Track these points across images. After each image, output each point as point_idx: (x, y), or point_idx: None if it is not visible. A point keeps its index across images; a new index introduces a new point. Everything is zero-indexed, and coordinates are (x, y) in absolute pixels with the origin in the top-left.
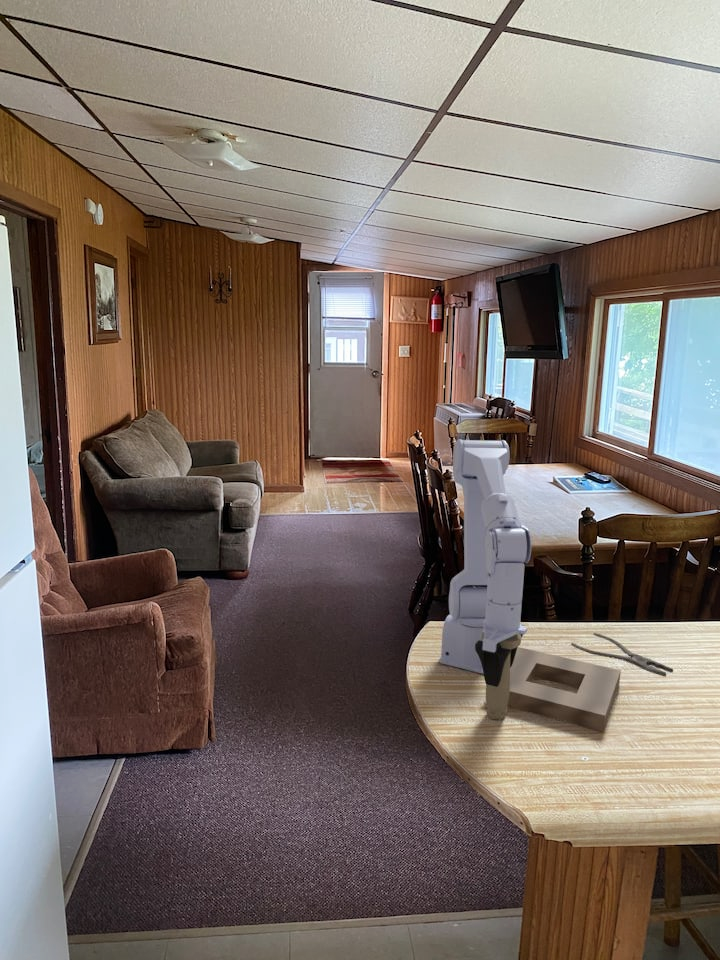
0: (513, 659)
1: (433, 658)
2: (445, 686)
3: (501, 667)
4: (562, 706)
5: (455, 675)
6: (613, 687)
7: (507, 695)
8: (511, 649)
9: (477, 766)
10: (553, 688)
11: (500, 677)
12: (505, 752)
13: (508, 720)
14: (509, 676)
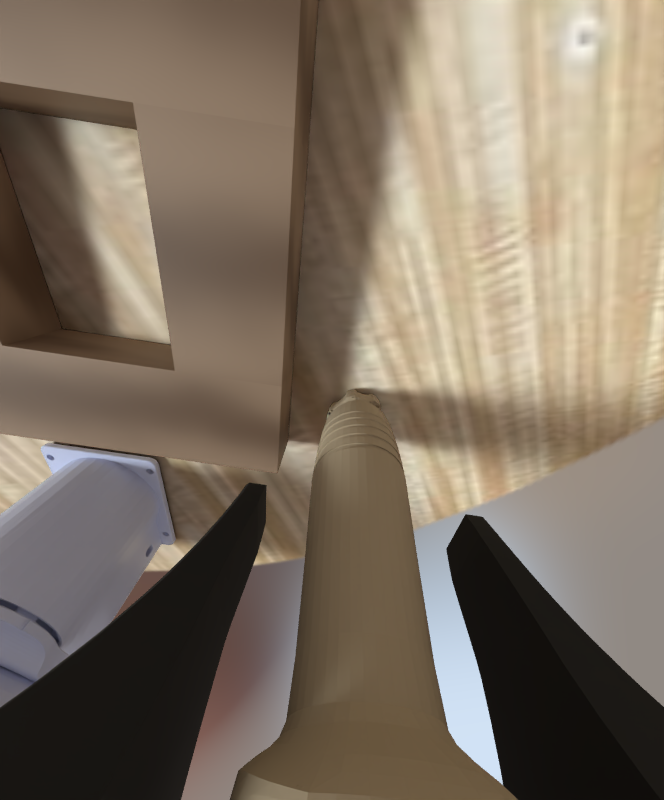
0: (246, 516)
1: (162, 548)
2: (266, 518)
3: (611, 661)
4: (294, 184)
5: (205, 508)
6: None
7: (379, 432)
8: (221, 589)
9: (619, 422)
10: (161, 249)
11: (518, 562)
12: (547, 366)
13: (367, 377)
14: (372, 487)
